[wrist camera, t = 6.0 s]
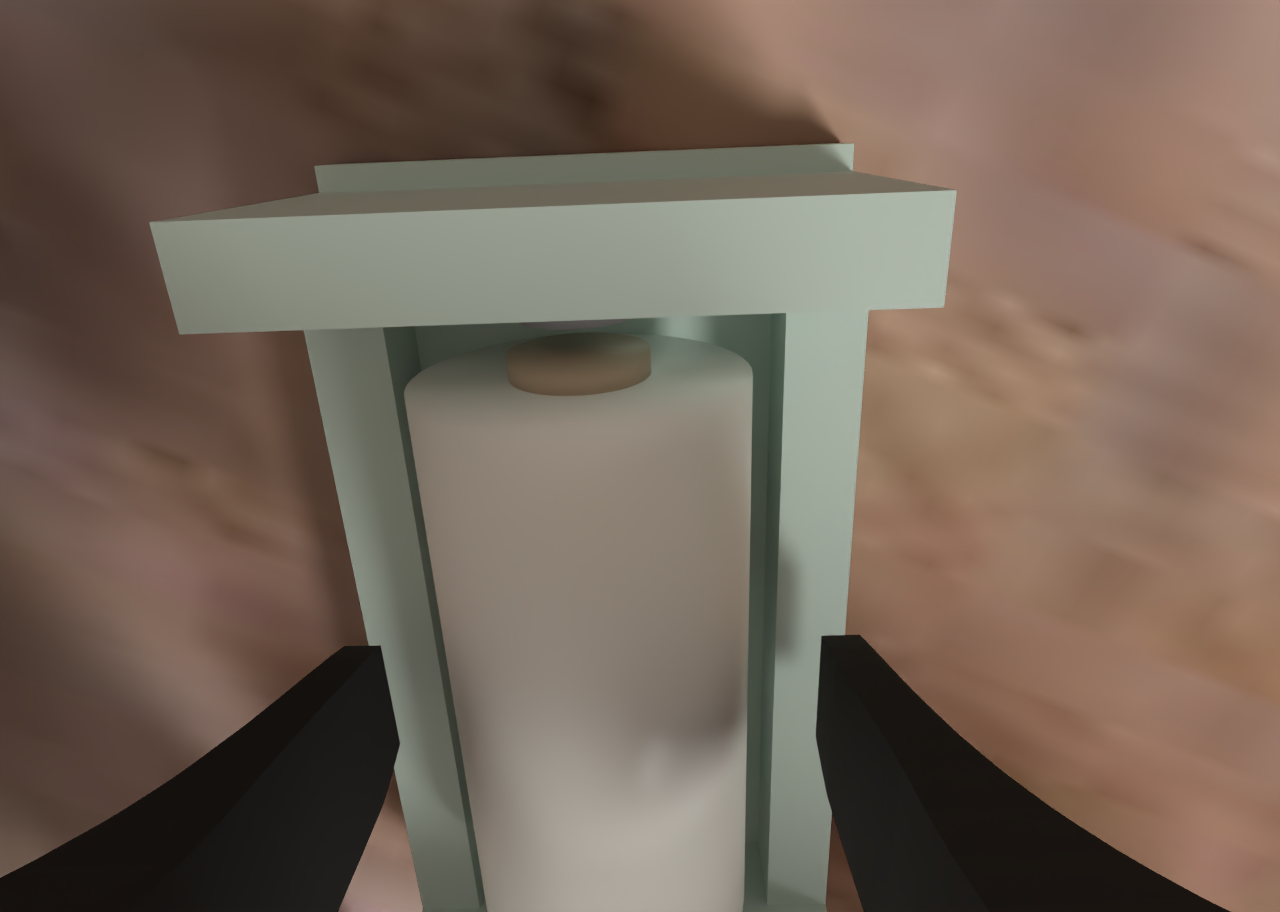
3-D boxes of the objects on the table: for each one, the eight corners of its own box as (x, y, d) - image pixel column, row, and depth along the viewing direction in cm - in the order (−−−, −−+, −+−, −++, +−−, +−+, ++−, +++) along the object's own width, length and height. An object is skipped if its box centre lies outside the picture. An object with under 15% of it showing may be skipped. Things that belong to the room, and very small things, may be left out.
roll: (748, 809, 17) (738, 1050, 12) (531, 788, 17) (449, 1008, 13) (757, 311, 13) (746, 407, 8) (474, 312, 13) (328, 402, 9)
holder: (802, 863, 19) (854, 1119, 14) (458, 868, 19) (390, 1121, 14) (841, 143, 13) (960, 148, 8) (333, 163, 13) (138, 181, 8)
